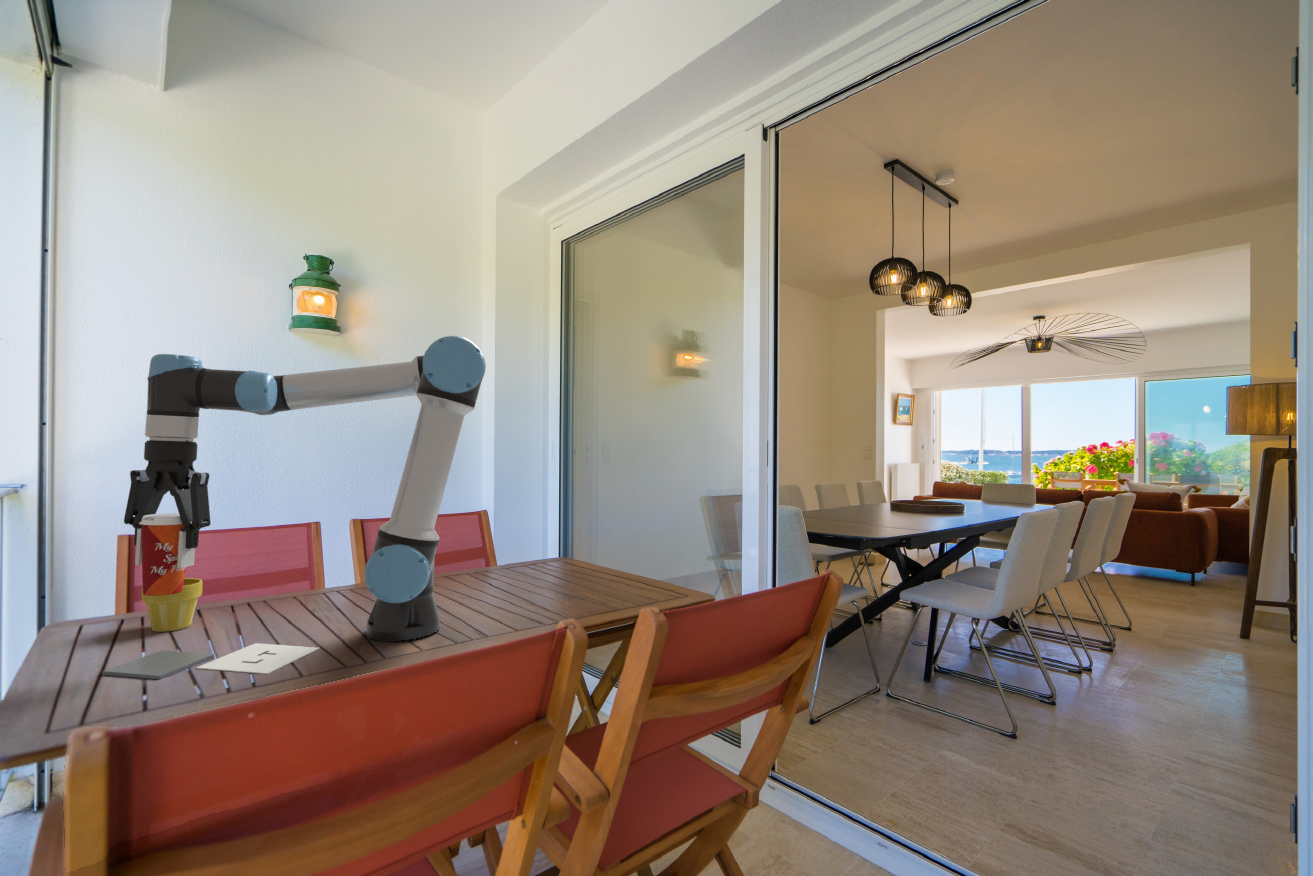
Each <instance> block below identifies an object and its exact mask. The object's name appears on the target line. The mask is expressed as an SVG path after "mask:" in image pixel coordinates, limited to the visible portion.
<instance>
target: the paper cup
mask: <svg viewBox="0 0 1313 876" xmlns="http://www.w3.org/2000/svg"><path fill="white" fill-rule="evenodd" d="M191 523H192V522H191ZM139 524H141V528H142V565H141V573H142V575H141V576H142V577H141V578H142V586H143V595H146V596H162V595H170V594H176V593H179V592H181V591H182V590H183V584H184V578H186V577H185V576H186V569H187V567H183V568H177V563H178V545H179V531H181V530H180V529H183V528H184V527H183V524H182V521H181V518H180V515H179V512H177V513H176V512H175V513H172V512H171V513H156V514H151V515H144V516H143V518H142V521H141V522H140V523H139Z"/></svg>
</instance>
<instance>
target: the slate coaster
mask: <svg viewBox="0 0 1313 876" xmlns="http://www.w3.org/2000/svg"><path fill="white" fill-rule="evenodd" d="M214 658H215V654H213V653H201V652H188V651H187V652H185V651H173V650H159V651H156V652H153V653H151V654H147V655H145V656H142V657H139V658H137V659H133V660H131V661H128V662H125V663H122V664H119V665H117V666H113V667H111V668H107V669H105V670H103V671H102V675H103V676H116V677H127V678H139V679H140V678H141V679H152V680H162V679H164V678H167V677H169V676H171V675H175V674H177V673H179V672H182V671H185V670H186V669H189V668H192V667H195V666H196V665H199V664H201V663H204V662H206V661H209V660H212V659H214Z"/></svg>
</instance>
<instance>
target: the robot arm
mask: <svg viewBox="0 0 1313 876" xmlns="http://www.w3.org/2000/svg"><path fill="white" fill-rule="evenodd" d="M148 369H149V370H148V376H147V378H146V380H147V402H146V403H147V407H146V417H145V431H144V436H145V437H146V438H148V439H149V440H146V442H144V448H143V450H144V451H143V452H144V453H143V458H144V460H145V461H147V462H148V463H147V466H146V468H145V469H135V470H134V469H133V470H130V472H129V477H130V488H129V493H128V499H127V502H126V508H125V512H124V518H123V523H124V524H125V525H130V526H132V528H134V536H133V538H134V539H133V544H134V547H136V549H135V562H134V563H135V566H142V528H141V524H139V523H140V522H141V521H142V518H143V516H144V515H151V514H157V511H158V509H159V507H160V504H161V503H162V500H163V498H164V496H165V495H166V494H168V492H169V494H170V495H171V496H172V497H173V499H174V502H175V505H176V508H177V511H178V512H177V513H179V515H180V518H181V521H182V524H183V527H184V528H183V529H180V530H181V531H179V545H178V563H177V568H183V567H186V568H188V567H191V566H195V558H196V557H195V555H196V554H195V553H196V548H198V547H199V536H200V534H199V533H200V530H201V529H204V528H207V527H210V526H211V512H210V502H209V501H210V500H209V490H208V485H209V480H210V473H209V472H198V471H195V467H194V462H195V461H197V459H198V458H197V457H198V443H197V442H196V441H194V439H195V440H196V439H197V438H198V435H199V434H198V433H199V421H200V419H199V418H200V411H201V409H204V410H221V411H235V412H236V411H237V412H244V413H251V414H256V415H260V416H269V415H270V416H271V415H274V414H278V413H279V412H280V413H281V412H288V411H294V410H302V409H304V410H305V409H311V408H312V409H313V408H320V407H321V408H322V407H328V406H337V405H344V404H347V405H348V404H353V403H354V404H355V403H362V402H364V403H365V402H371V401H379V400H389V399H396V398H404V397H406V398H407V397H413V396H416V398H418V401H419V402H420V405H421V406H420V409H419V412H418V413H419V414H418V416H417V420H416V424H415V428H414V432H413V435H412V439H411V442H410V446H409V450H408V453H407V456H406V460H405V463H404V468H403V470H402V475H401V478H400V482H399V486H398V488H397V494H396V497H395V500H394V504H393V508H392V511H391V514H390V518H389V520H387V521H386V522H384V523H382V525H380V526H379V527H378V531H377V535H376V538H375V541H374V545H373V549H372V553H371V555H370V556H369V558H368V560H367V561H366V563H365V567H364V581H365V585H366V588H367V589H368V591H369V592H370V593H371V595H372V596H374V597H375V601H374V604H373V607H372V609H371V611H370V614H369V617H368V619H367V622H366V625H365V626H366V629H365V635H366V636H367V638H370V639H372V640H376V641H383V642H402V641H401V640H405V641H410V640H409V639H413V640H417V639H416V638H419V639H421V638H420V637H423V636H426V635H429V634H432V633H434V632H436V631H437V630H439V631H440V629H439V628H441V617H440V615H439V611H438V606H437V604H436V600H435V597H434V579H435V578H434V574H435V556H436V552H437V549H438V546H439V545H438V544H439V541H440V536H439V534H438V533H437V531H436V529H435V526H436V523H437V519H438V515H439V511H440V508H441V504H442V501H443V497H444V494H445V490H446V485H447V482H448V477H449V474H450V471H451V467H452V463H453V460H454V455H455V452H456V448H457V445H458V440H459V436H460V433H461V430H462V427H463V423H464V418H465V416H466V415H467V414H469V413H471V412H472V411H474V410H475V408H476V403H477V399H478V397H479V393H480V388H481V385H482V382H483V380H484V376H485V372H486V359H485V356H484V354H483V352H482V350H481V349H480V348H479V347H478V346H477V345H476V344H475V343H474V342H473V341H472V340H470V339H467V338H466V337H463V336H458V335H447V336H443V337H441V338H438V339H436V340H435V341H433V342H432V343H431V344H430V345H429V346H428V348H427V349H426V350H425V352H424V353H423V355H417V356H415V357H414V358H413V359H412V360H411V361H403V362H396V363H395V362H394V363H386V364H377V365H365V366H357V367H346V368H338V369H330V370H320V371H311V372H301V373H300V372H298V373H290V374H283V375H272V374H271V373H269V372H262V371H261V372H260V371H254V370H233V369H231V370H230V369H225V370H224V369H212V368H206V367H204V365H203V362H202V360H201V359H200V358H199V357H195V356H191V355H183V354H182V355H181V354H172V353H171V354H170V353H159V354H155V355H153V356H152V357H151V359H150V362H149V368H148ZM191 522H192V523H191ZM436 633H437V632H436ZM434 634H435V633H434ZM432 635H433V634H432ZM423 638H424V637H423Z"/></svg>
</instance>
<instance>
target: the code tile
mask: <svg viewBox="0 0 1313 876" xmlns="http://www.w3.org/2000/svg"><path fill="white" fill-rule="evenodd" d="M319 649H321V647H313V646H312V647H311V646H301V645H285V644H274V643H273V644H271V643H270V644H269V643H258V642H255V643H253V644H250V645H248V646H246V647H243V648H241V649H238V650H236V651H233V652H231V653H229V654H226V655H223V656H221V657H219V658H216V659H214V660H212V661H209V662H207V663H204V664H202V665H199V666H196V667H195V669H197V670H198V669H199V670H209V671H210V670H211V671H221V672H223V671H224V672H236V673H247V674H248V673H249V674H263V675H269V674H271V673H273V672H275V671H277V670H279V669H281V668H283V667H285V666H287V665H290V664H291V663H294V662H296V661H298V660H300V659H301V658H304V657H305V656H308V655H310V654H311V653H315V652H316V651H318V650H319Z"/></svg>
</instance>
